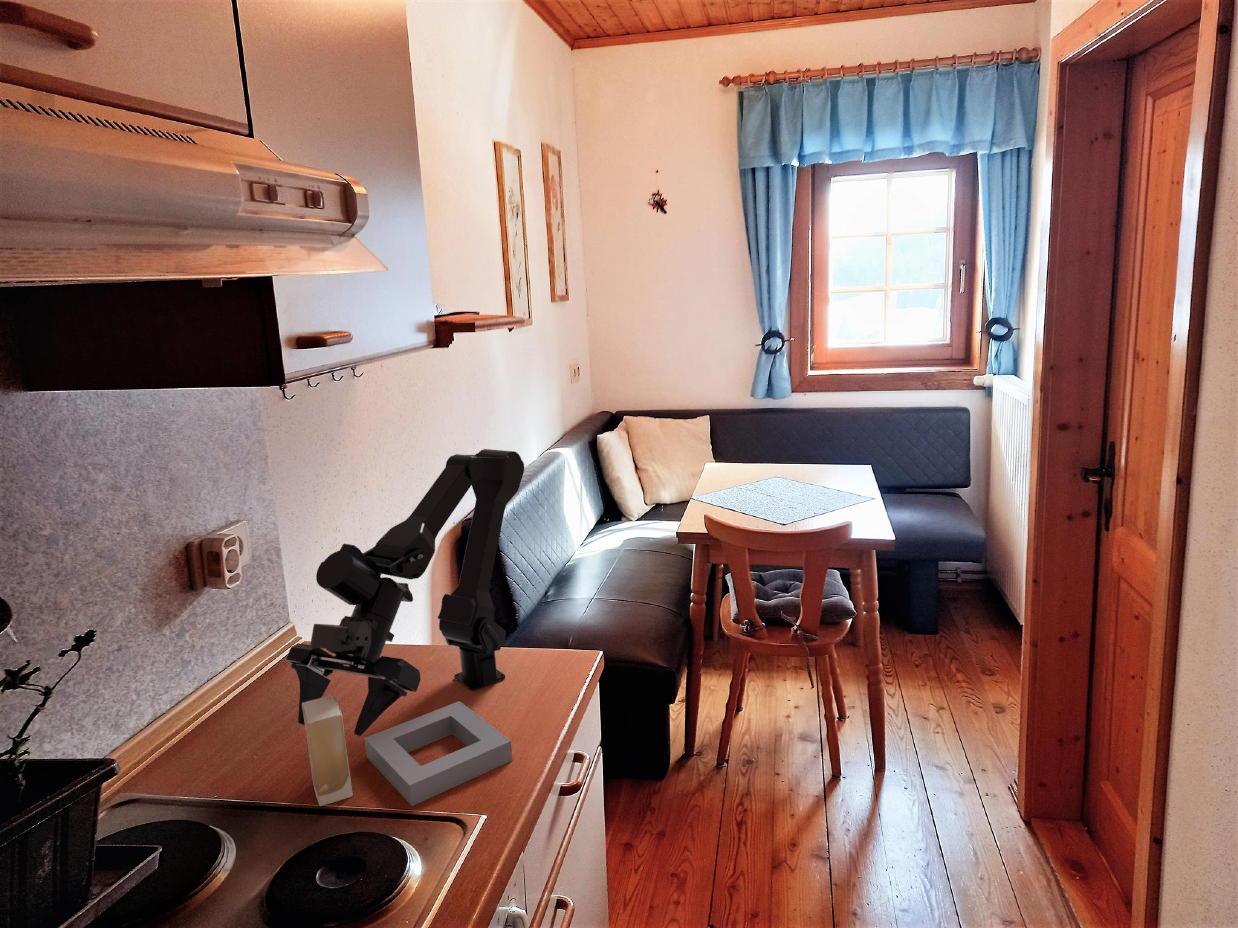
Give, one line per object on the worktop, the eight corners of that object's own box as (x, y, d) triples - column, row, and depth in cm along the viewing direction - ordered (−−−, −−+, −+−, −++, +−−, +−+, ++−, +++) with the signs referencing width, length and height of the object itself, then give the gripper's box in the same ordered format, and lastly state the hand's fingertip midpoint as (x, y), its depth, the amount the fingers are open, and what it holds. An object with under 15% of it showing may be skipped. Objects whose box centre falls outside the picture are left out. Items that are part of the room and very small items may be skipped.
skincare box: (312, 783, 113) (300, 701, 110) (345, 773, 115) (334, 692, 112) (319, 808, 107) (306, 723, 105) (354, 797, 109) (342, 713, 106)
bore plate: (366, 756, 118) (364, 737, 118) (461, 718, 127) (459, 700, 127) (412, 806, 107) (409, 785, 106) (512, 760, 116) (510, 740, 115)
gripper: (285, 588, 114) (234, 700, 107) (398, 602, 108) (352, 723, 100) (331, 619, 123) (287, 725, 116) (438, 634, 116) (399, 747, 109)
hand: (328, 729), depth 110 cm, fingers open, 9 cm apart
